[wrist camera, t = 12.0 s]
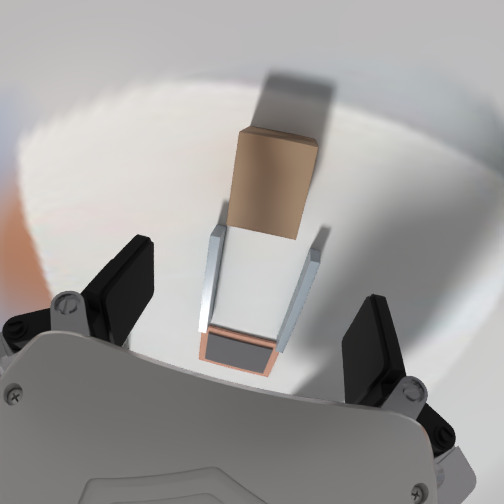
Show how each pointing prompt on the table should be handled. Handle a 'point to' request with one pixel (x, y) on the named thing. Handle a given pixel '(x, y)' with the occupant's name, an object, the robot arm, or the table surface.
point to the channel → (295, 304)
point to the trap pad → (238, 351)
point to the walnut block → (271, 181)
